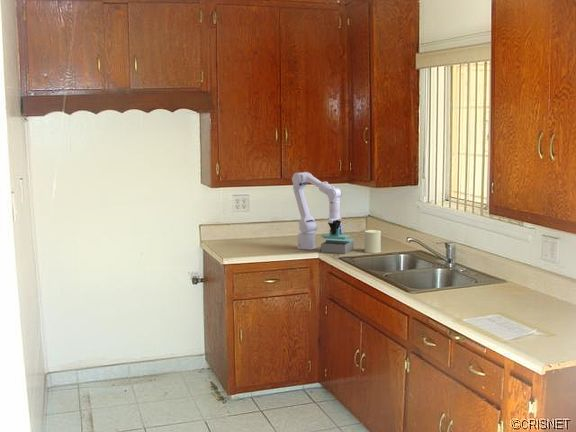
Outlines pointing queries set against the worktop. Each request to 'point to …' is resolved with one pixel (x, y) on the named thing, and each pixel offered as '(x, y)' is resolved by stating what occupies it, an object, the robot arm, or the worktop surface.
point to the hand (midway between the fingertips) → (334, 234)
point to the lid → (337, 236)
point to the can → (372, 241)
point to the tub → (337, 246)
